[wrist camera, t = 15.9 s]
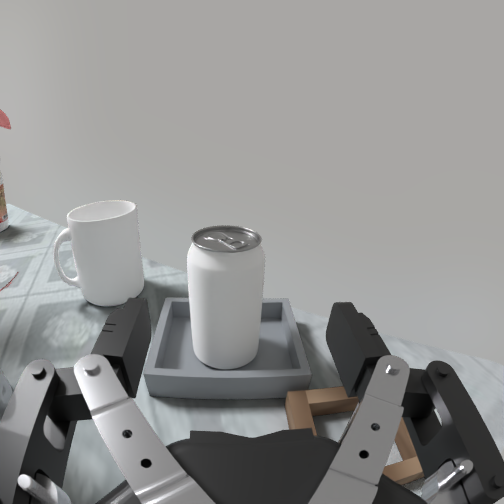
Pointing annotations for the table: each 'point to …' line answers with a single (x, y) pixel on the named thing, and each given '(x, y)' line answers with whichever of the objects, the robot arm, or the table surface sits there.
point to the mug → (104, 252)
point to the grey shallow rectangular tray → (227, 381)
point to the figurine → (3, 121)
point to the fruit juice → (3, 208)
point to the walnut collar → (336, 401)
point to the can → (225, 295)
